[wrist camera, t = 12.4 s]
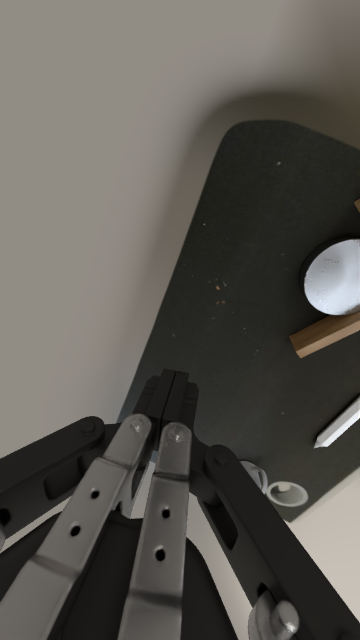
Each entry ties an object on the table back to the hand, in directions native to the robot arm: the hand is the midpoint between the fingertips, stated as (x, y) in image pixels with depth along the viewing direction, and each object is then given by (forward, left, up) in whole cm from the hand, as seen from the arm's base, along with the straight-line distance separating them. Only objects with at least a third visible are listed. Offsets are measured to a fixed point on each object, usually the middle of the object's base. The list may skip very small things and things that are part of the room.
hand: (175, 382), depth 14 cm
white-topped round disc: (+12, +15, -29) cm, 35 cm away
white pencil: (+40, +2, -29) cm, 50 cm away
